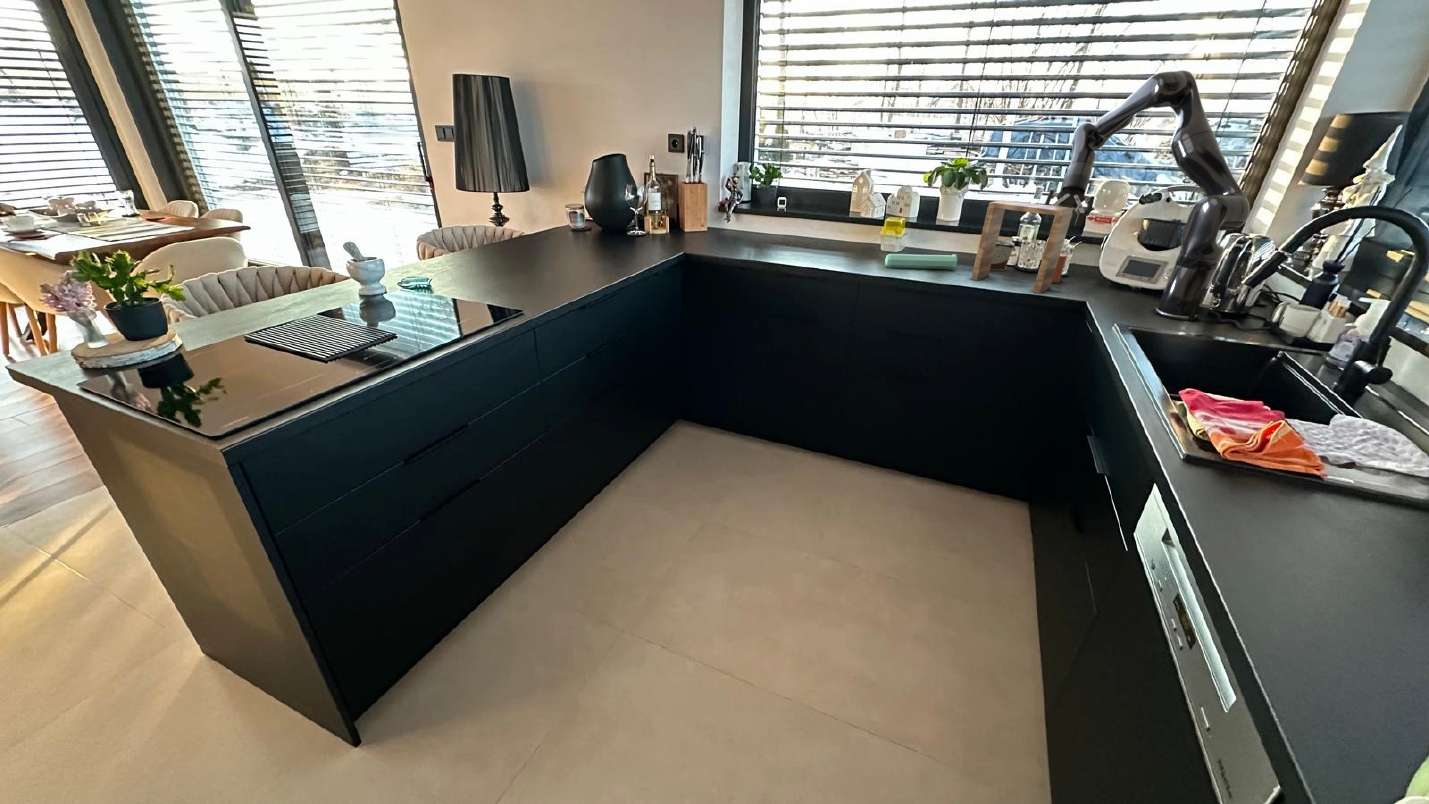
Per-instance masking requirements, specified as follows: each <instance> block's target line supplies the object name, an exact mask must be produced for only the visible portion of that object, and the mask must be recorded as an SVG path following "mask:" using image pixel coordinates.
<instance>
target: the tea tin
mask: <svg viewBox="0 0 1429 804" xmlns="http://www.w3.org/2000/svg"><path fill="white" fill-rule="evenodd" d="M1067 258H1068V255H1067V254H1065V253H1060V256H1059V259H1058V263H1057V266H1056V269H1055V273H1054V276H1053V279H1052V282H1051V283H1054V284H1055V283H1059V282H1060V280H1061V278H1062V274H1063V271H1064V268H1065V265H1066V261H1067Z"/></svg>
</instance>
